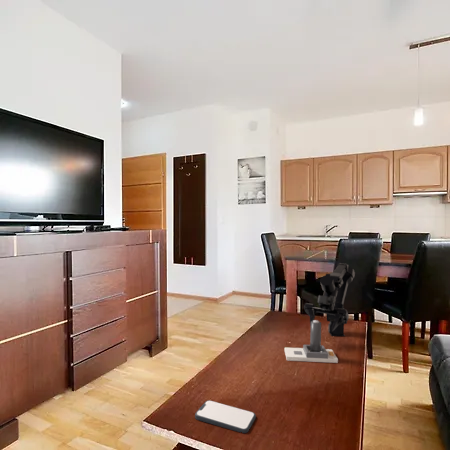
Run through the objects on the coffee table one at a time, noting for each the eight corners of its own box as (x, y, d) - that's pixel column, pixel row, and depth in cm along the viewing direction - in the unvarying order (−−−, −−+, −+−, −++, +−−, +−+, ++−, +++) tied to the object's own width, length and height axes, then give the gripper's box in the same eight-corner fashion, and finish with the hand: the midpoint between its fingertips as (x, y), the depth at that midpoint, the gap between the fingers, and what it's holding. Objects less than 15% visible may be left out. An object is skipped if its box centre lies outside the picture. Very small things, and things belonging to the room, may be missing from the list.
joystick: (311, 350, 135) (312, 318, 135) (321, 353, 133) (322, 320, 132) (308, 354, 132) (309, 321, 131) (318, 356, 129) (319, 323, 129)
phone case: (256, 418, 92) (207, 404, 99) (257, 412, 92) (207, 398, 98) (246, 437, 84) (193, 420, 90) (246, 431, 84) (193, 414, 90)
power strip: (331, 352, 137) (331, 344, 137) (337, 362, 127) (337, 354, 127) (284, 350, 139) (284, 342, 138) (286, 360, 129) (287, 351, 129)
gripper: (305, 285, 148) (296, 315, 139) (347, 290, 138) (340, 323, 129) (310, 299, 155) (302, 328, 146) (351, 305, 144) (345, 336, 135)
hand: (321, 328), depth 139 cm, fingers open, 9 cm apart
